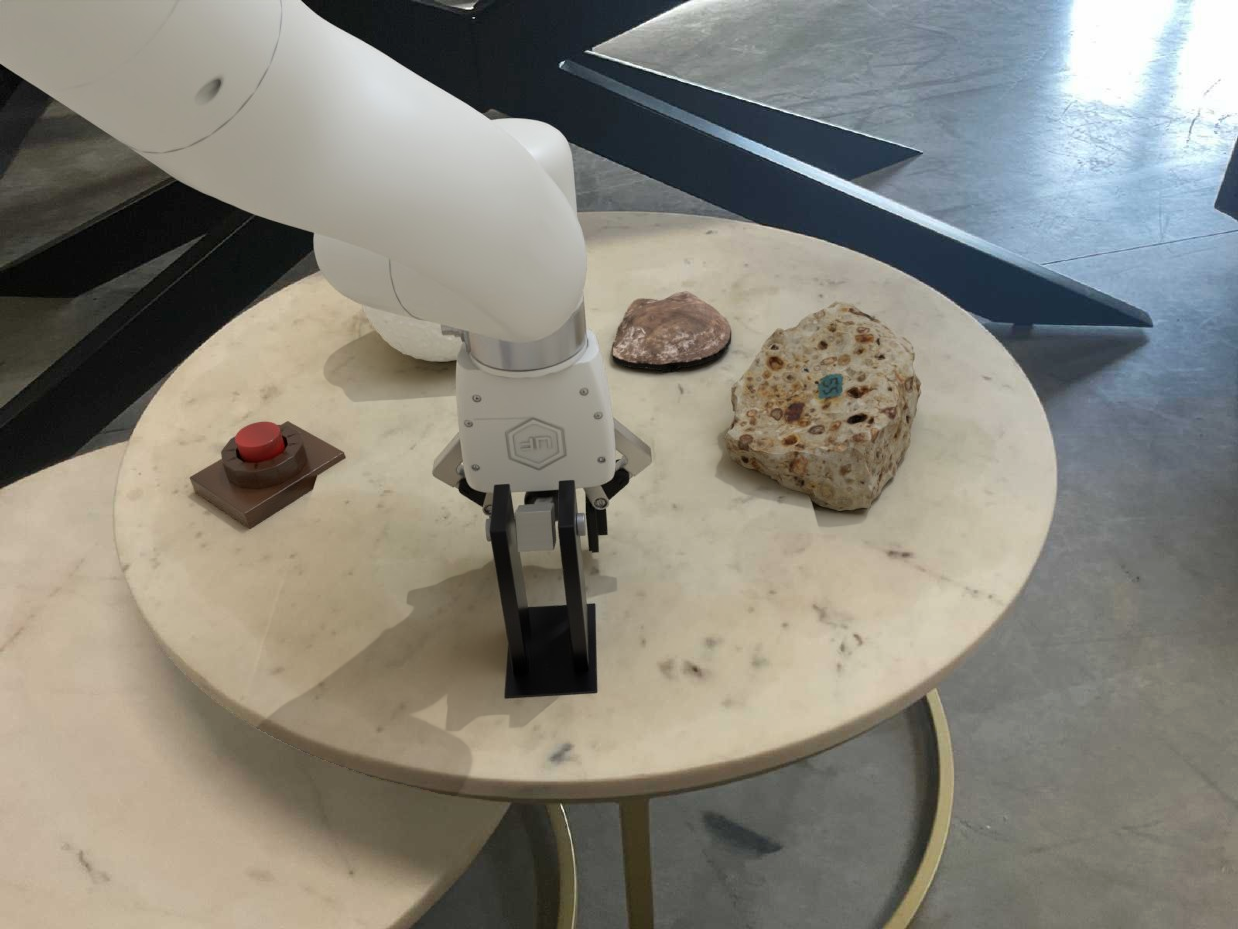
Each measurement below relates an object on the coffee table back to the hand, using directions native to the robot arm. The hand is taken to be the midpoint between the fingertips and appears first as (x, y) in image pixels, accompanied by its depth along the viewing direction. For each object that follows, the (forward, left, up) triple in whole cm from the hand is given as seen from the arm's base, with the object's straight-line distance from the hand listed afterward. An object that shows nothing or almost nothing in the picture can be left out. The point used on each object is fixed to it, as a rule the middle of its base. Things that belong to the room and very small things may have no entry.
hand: (551, 540), depth 75 cm
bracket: (-7, -6, -3) cm, 9 cm away
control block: (-6, +27, -3) cm, 28 cm away
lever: (-4, -3, +5) cm, 7 cm away
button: (-6, +27, 0) cm, 28 cm away
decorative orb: (+17, +31, -3) cm, 35 cm away
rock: (+26, -7, -3) cm, 28 cm away
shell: (+31, +13, -3) cm, 34 cm away
